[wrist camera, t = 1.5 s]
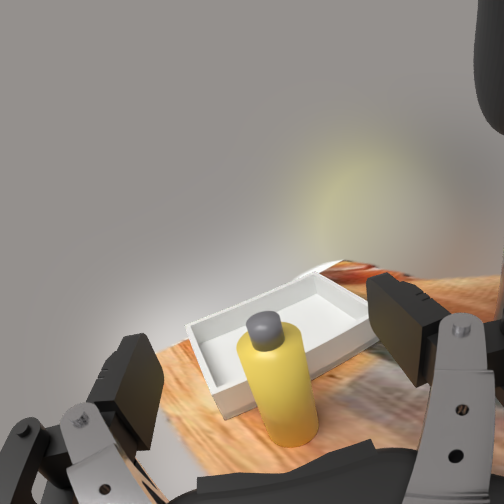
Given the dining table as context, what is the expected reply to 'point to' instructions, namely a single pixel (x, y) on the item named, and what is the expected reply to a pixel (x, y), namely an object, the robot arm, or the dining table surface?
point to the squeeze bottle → (279, 378)
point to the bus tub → (291, 311)
